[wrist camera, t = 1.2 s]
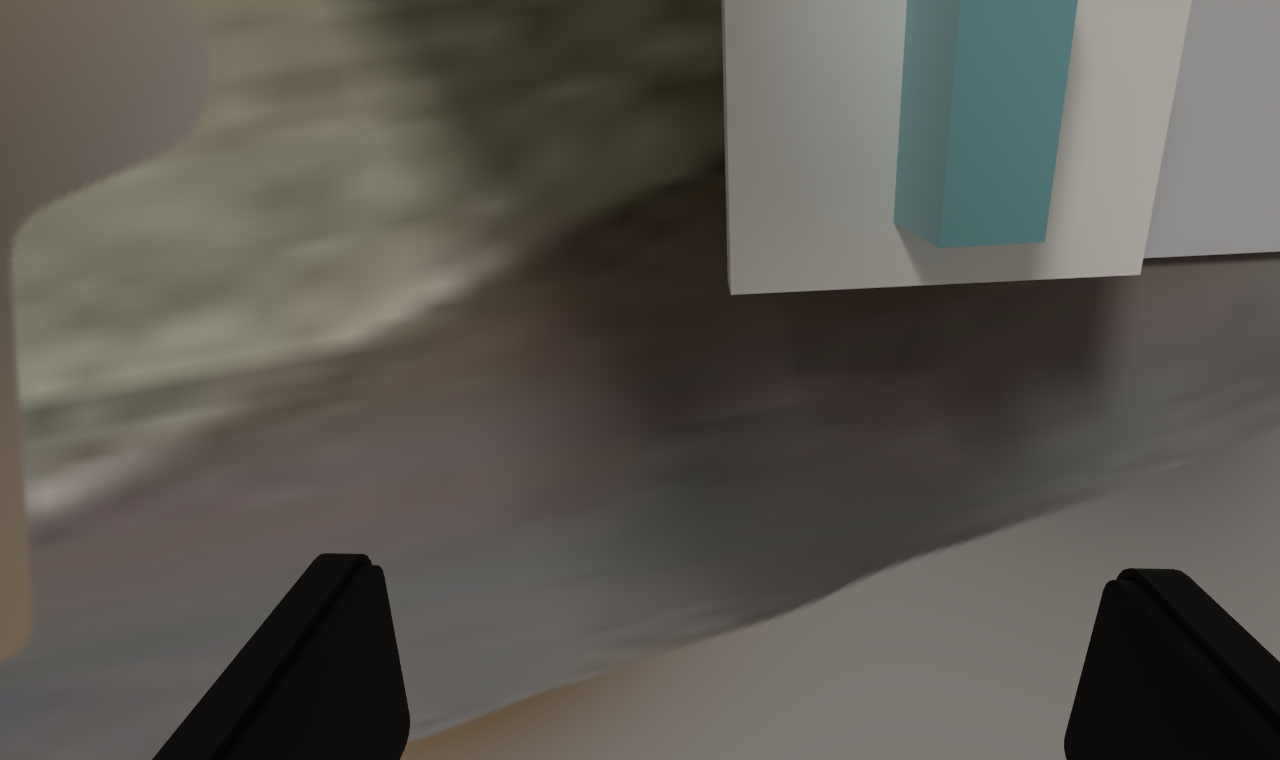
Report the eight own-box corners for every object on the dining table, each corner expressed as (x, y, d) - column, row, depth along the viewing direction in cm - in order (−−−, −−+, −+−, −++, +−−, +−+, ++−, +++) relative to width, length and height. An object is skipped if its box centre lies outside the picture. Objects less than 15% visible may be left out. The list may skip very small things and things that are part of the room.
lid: (718, -152, 24) (730, -253, 17) (1185, -199, 23) (1396, -328, 16) (727, 281, 29) (739, 334, 22) (1106, 262, 28) (1239, 311, 21)
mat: (1097, -174, 29) (1105, -179, 29) (1441, -207, 28) (1456, -214, 28) (1038, 260, 36) (1044, 263, 35) (1316, 246, 34) (1327, 248, 34)
